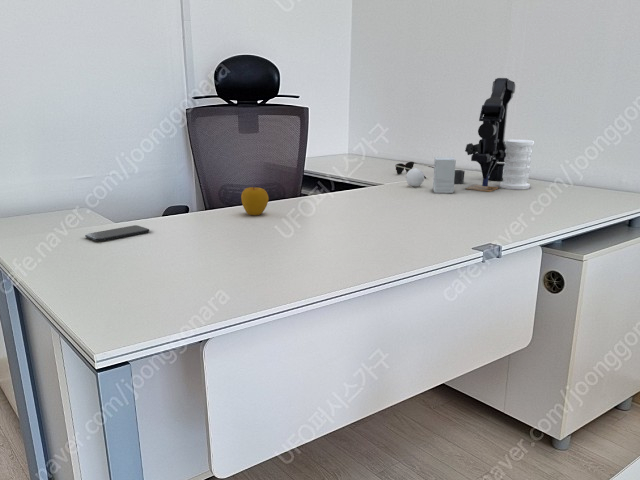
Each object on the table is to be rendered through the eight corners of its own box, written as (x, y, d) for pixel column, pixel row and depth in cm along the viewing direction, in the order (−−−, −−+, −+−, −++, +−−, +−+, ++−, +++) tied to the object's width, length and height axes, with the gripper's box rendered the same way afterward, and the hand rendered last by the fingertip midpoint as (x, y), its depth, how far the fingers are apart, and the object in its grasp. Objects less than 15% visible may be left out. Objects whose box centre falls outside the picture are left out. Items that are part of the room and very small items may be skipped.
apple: (271, 212, 193) (270, 184, 190) (264, 217, 185) (264, 189, 182) (246, 211, 194) (245, 184, 191) (238, 216, 187) (237, 188, 183)
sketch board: (475, 185, 241) (475, 184, 241) (499, 188, 235) (499, 187, 235) (465, 189, 233) (465, 188, 233) (489, 191, 228) (489, 190, 228)
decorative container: (518, 183, 245) (524, 139, 239) (535, 188, 235) (541, 141, 228) (494, 185, 242) (498, 139, 236) (509, 189, 232) (515, 142, 225)
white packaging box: (451, 189, 232) (454, 157, 227) (453, 193, 225) (456, 159, 220) (432, 189, 232) (434, 156, 228) (433, 193, 225) (436, 159, 221)
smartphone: (136, 227, 173) (83, 237, 162) (136, 224, 172) (83, 233, 162) (151, 232, 167) (97, 242, 157) (150, 229, 167) (97, 239, 156)
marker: (483, 185, 233) (485, 162, 230) (488, 185, 232) (490, 162, 229) (481, 186, 232) (483, 162, 228) (486, 186, 231) (488, 163, 227)
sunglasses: (412, 171, 275) (413, 161, 273) (441, 177, 265) (442, 166, 263) (394, 175, 266) (395, 163, 264) (423, 181, 256) (425, 169, 254)
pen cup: (454, 181, 250) (455, 169, 248) (465, 182, 248) (466, 170, 246) (449, 183, 247) (450, 171, 245) (460, 184, 244) (461, 172, 242)
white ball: (427, 187, 238) (428, 168, 235) (413, 188, 234) (414, 169, 231) (411, 183, 246) (412, 165, 243) (397, 185, 242) (398, 166, 239)
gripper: (478, 133, 237) (475, 173, 242) (459, 137, 223) (456, 179, 228) (506, 135, 231) (501, 175, 236) (488, 139, 216) (484, 182, 222)
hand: (485, 178), depth 231 cm, fingers closed on marker, 2 cm apart
